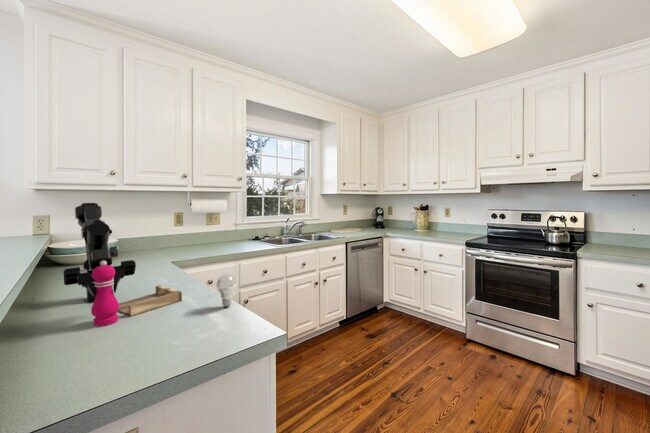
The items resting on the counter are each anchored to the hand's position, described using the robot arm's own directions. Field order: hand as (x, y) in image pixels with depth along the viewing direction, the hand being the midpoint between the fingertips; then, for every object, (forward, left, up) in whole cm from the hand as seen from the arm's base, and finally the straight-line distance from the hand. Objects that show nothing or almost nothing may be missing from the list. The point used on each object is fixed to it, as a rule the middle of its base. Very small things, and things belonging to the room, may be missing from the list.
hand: (104, 294), depth 95 cm
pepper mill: (-1, 0, -10) cm, 10 cm away
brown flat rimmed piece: (-7, +16, -10) cm, 20 cm away
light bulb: (+21, +30, -10) cm, 38 cm away
